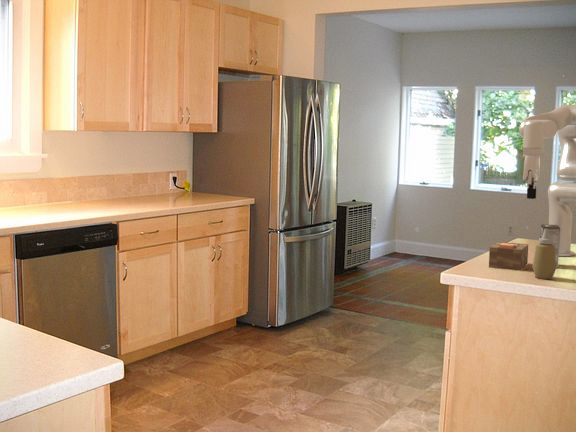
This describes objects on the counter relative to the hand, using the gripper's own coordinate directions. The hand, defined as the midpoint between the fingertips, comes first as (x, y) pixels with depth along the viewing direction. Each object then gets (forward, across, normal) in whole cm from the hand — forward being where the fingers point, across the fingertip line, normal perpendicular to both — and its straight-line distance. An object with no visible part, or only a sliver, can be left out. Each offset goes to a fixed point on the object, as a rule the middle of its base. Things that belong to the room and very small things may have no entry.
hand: (531, 198), depth 287 cm
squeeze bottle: (+26, +27, +10) cm, 38 cm away
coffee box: (+27, 0, +7) cm, 28 cm away
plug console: (+26, +8, -7) cm, 28 cm away
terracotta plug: (+23, +12, -6) cm, 27 cm away
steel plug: (+25, +4, -7) cm, 26 cm away
